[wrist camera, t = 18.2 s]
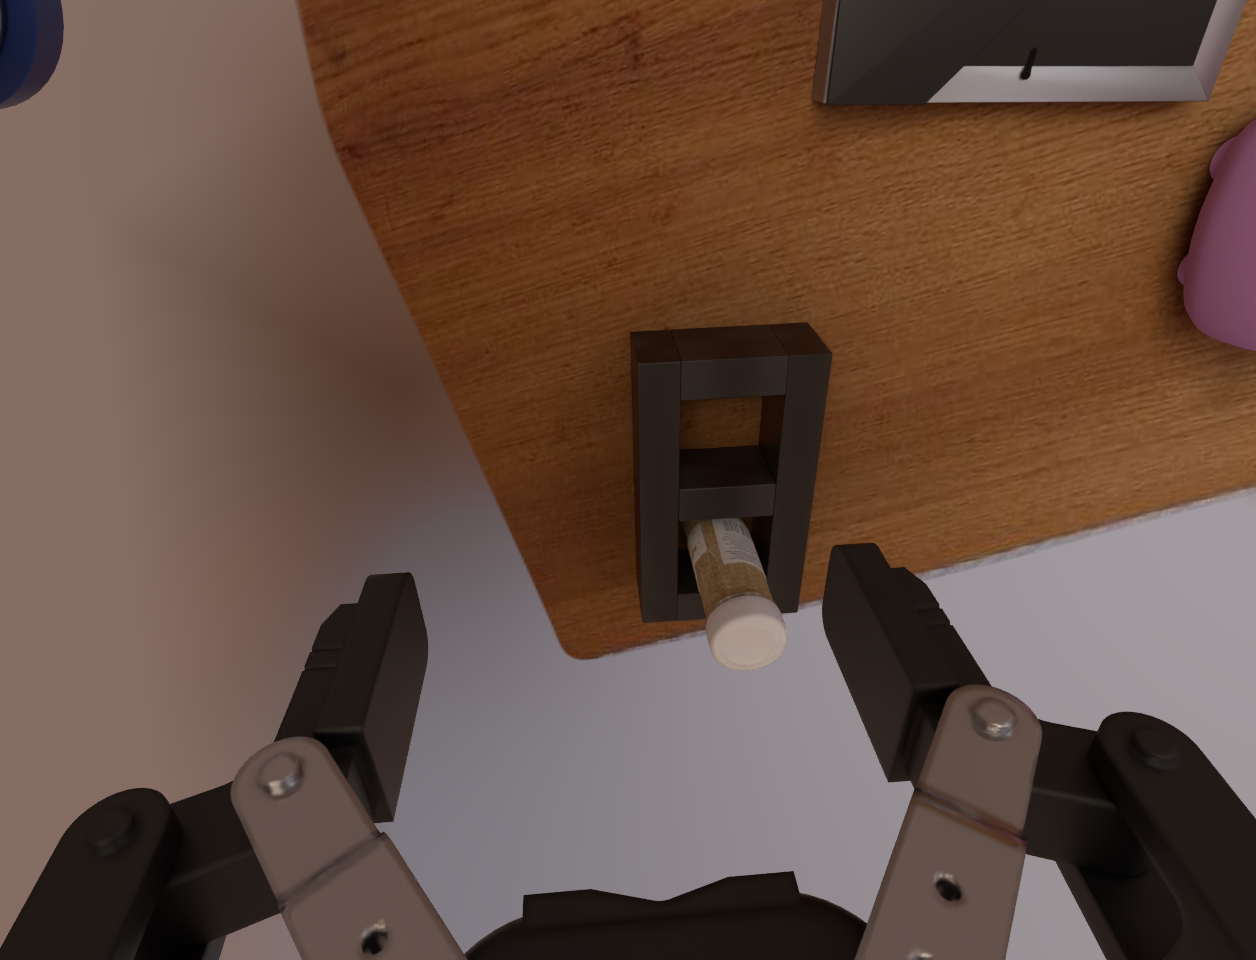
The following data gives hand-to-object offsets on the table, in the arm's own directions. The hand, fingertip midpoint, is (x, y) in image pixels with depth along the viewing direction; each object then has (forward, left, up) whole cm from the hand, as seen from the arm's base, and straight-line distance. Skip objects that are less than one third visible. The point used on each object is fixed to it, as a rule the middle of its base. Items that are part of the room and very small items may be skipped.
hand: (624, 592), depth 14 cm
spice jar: (+8, -21, -32) cm, 39 cm away
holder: (+8, -17, -32) cm, 37 cm away
